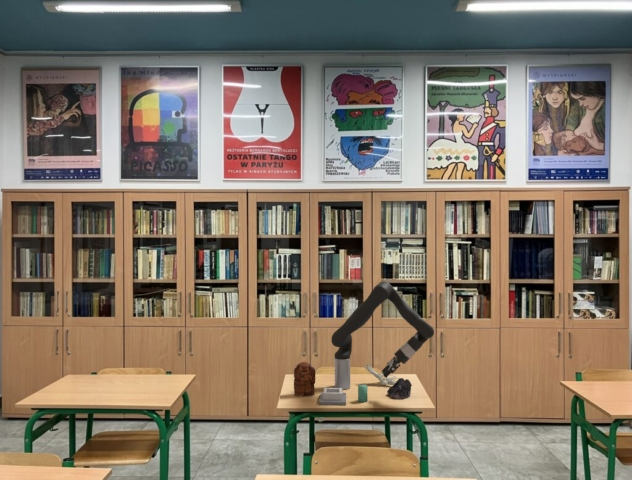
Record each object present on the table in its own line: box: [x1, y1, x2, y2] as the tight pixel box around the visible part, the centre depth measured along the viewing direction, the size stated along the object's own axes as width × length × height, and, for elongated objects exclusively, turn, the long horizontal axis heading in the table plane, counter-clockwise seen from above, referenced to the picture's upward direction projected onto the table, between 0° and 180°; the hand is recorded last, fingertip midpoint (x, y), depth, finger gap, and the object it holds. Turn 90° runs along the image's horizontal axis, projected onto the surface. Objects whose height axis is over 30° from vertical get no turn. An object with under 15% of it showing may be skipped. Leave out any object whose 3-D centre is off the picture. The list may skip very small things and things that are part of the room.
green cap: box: [357, 384, 369, 403], centre depth 264 cm, size 5×5×8 cm
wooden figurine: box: [293, 361, 316, 397], centre depth 276 cm, size 12×6×18 cm, turn 100°
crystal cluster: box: [386, 377, 413, 400], centre depth 274 cm, size 13×14×10 cm
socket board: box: [318, 387, 347, 406], centre depth 266 cm, size 17×14×5 cm
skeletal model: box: [364, 363, 401, 386], centre depth 296 cm, size 16×9×25 cm
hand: (383, 374), depth 264 cm, fingers open, 8 cm apart
